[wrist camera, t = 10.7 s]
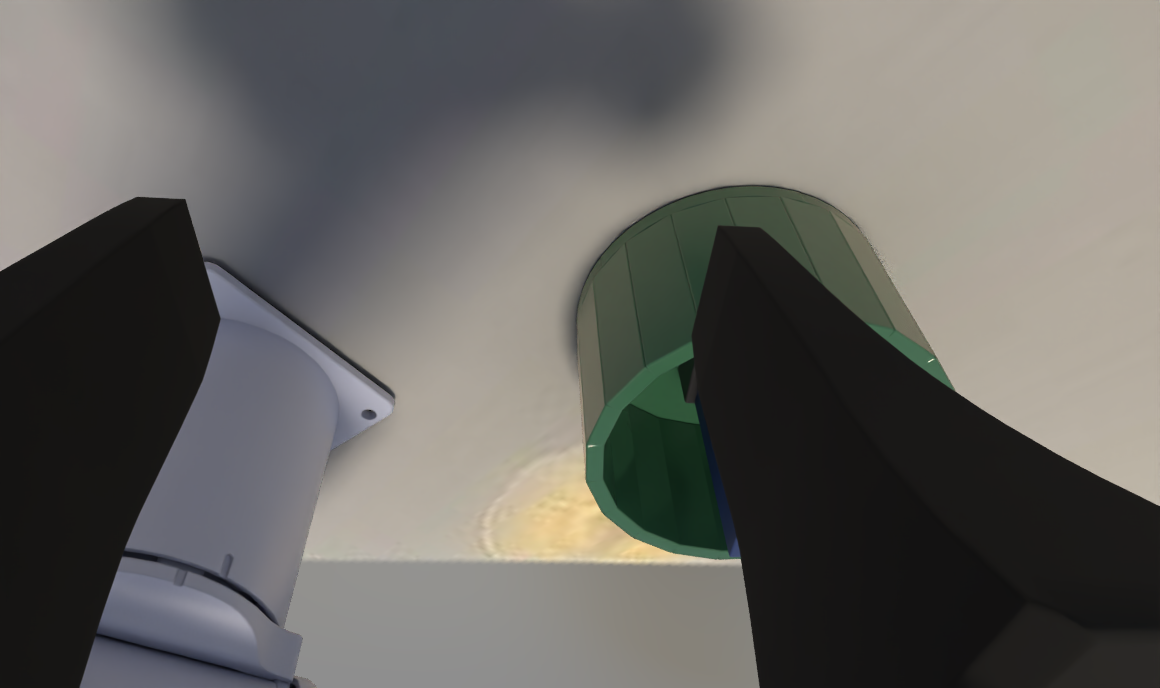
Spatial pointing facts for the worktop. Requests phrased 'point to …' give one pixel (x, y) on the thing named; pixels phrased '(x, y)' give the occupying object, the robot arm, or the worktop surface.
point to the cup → (663, 342)
